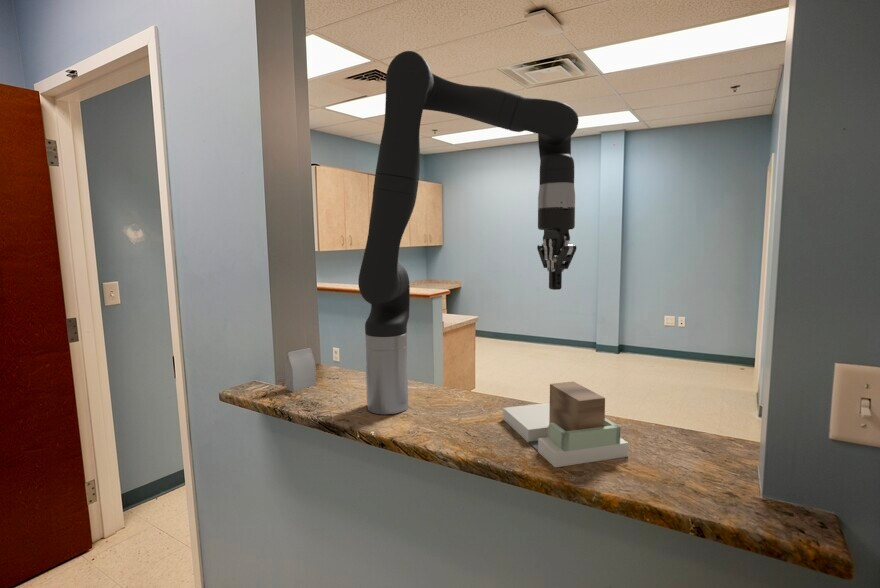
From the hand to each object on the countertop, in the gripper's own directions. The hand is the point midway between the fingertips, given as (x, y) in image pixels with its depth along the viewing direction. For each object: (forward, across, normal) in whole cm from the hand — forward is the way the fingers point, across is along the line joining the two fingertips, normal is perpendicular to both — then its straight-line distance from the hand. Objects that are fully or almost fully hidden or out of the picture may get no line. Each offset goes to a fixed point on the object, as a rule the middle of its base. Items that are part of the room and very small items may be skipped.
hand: (555, 289), depth 99 cm
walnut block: (+24, +17, -5) cm, 30 cm away
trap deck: (+27, +12, -5) cm, 30 cm away
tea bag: (+27, -35, -54) cm, 70 cm away
